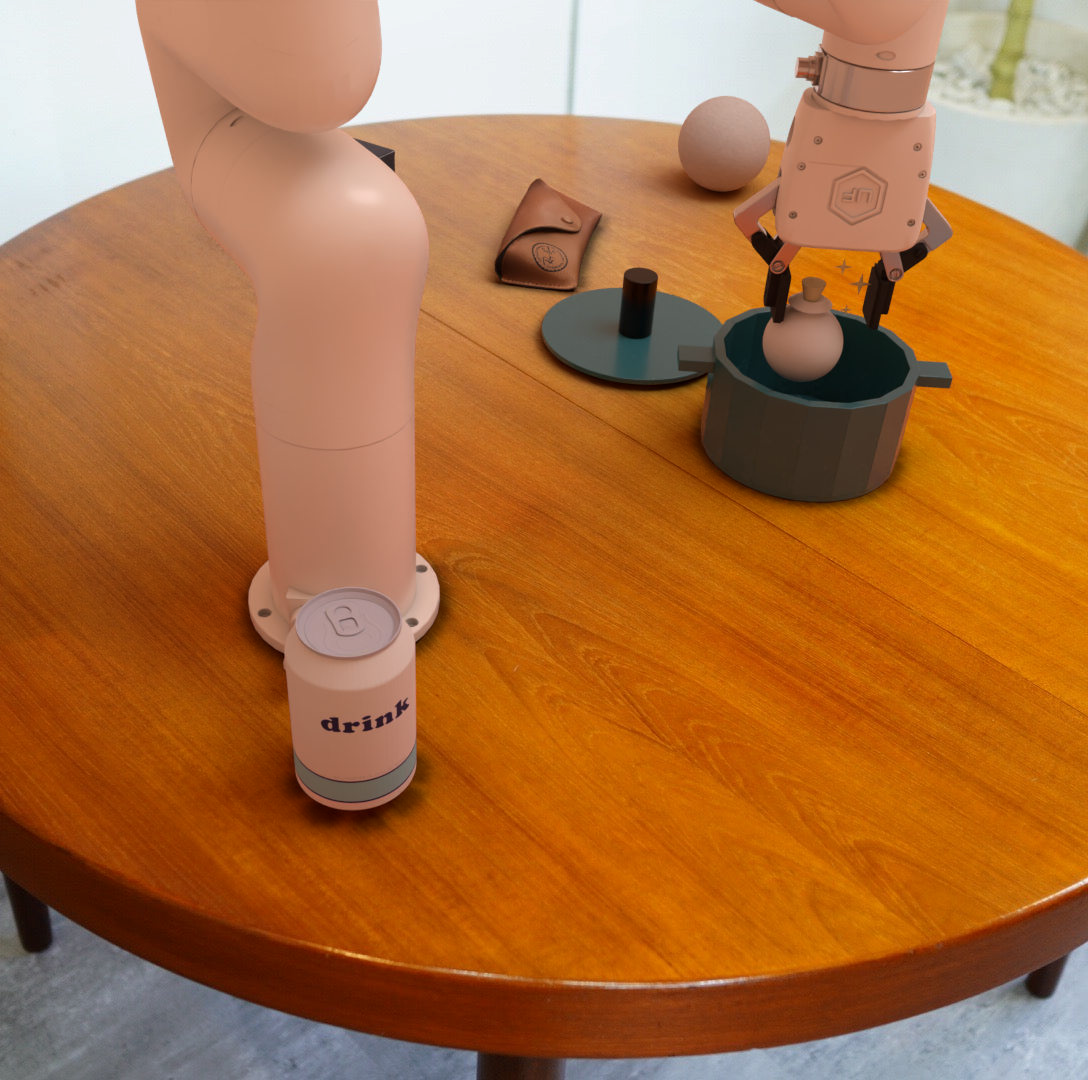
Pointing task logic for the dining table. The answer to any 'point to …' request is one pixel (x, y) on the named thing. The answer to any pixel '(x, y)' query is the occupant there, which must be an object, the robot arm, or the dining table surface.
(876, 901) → the dining table surface
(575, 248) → the sunglasses case
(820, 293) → the potion bottle
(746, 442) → the pot
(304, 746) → the beverage can
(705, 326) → the lid
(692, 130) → the ball
